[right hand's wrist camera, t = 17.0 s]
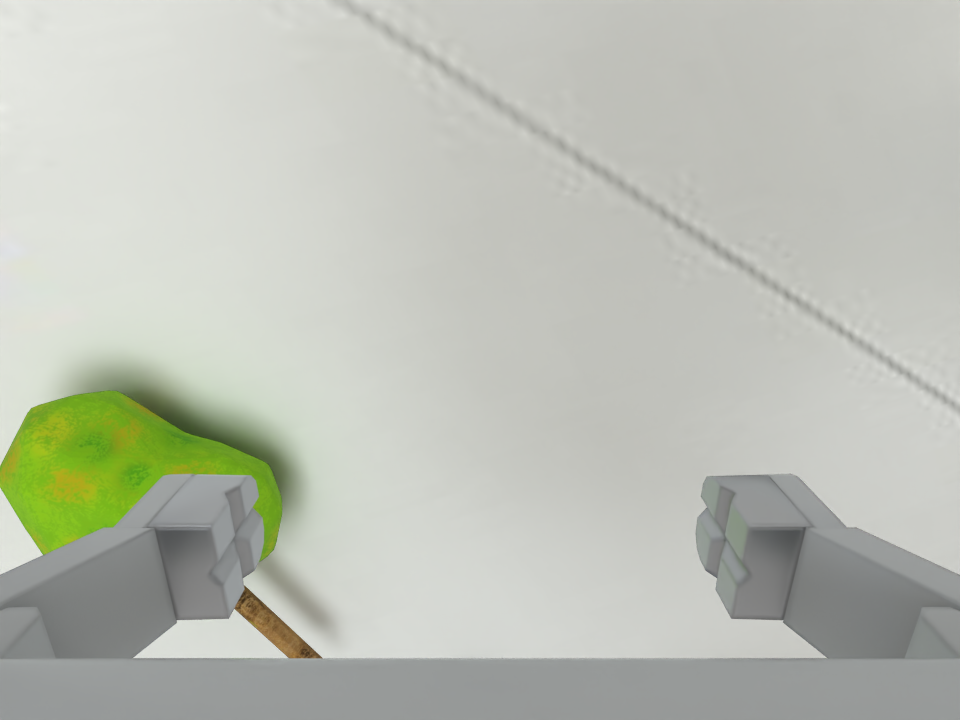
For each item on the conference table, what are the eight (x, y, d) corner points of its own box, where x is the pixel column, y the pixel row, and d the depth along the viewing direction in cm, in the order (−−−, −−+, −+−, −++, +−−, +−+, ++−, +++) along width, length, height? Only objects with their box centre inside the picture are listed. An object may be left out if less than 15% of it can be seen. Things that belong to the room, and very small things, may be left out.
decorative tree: (218, 774, 45) (-121, 515, 36) (263, 659, 55) (6, 432, 45) (398, 684, 42) (74, 368, 32) (413, 578, 51) (167, 311, 42)
